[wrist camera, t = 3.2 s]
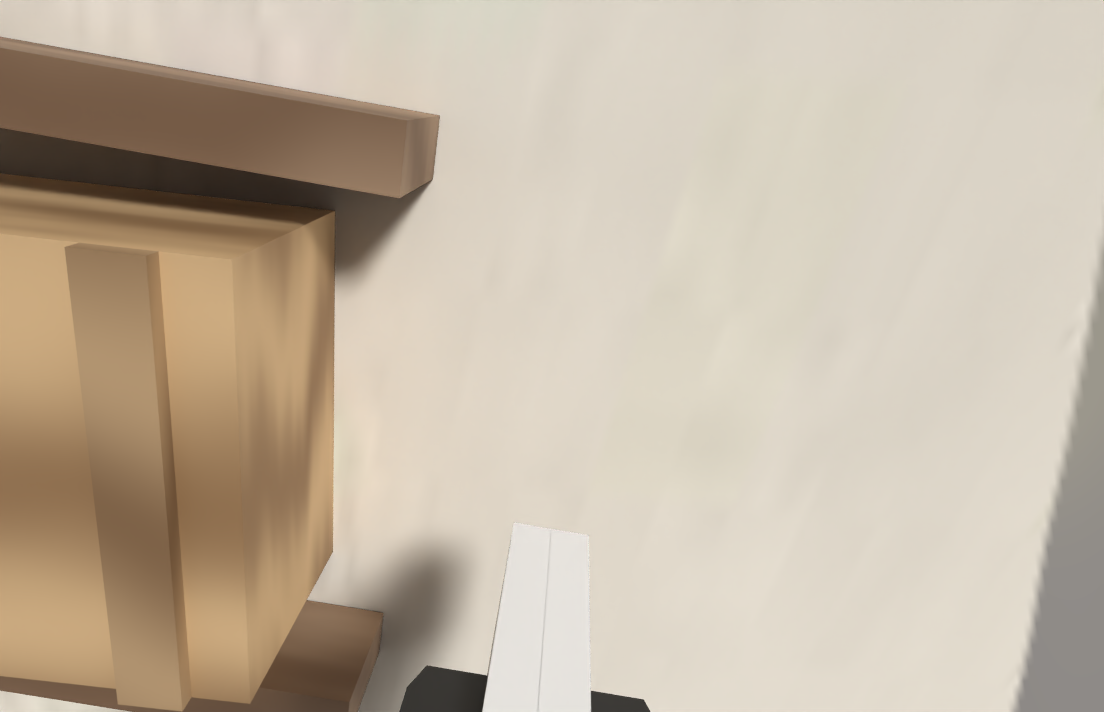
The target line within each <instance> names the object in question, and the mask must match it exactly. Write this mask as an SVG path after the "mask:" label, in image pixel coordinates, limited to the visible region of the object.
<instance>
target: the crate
mask: <svg viewBox="0 0 1104 712" xmlns="http://www.w3.org/2000/svg"><path fill="white" fill-rule="evenodd" d="M334 300H335V211H333V210H324V209H315V208H306V207H297V206H288V205H279V204H270V203H261V202H252V201H243V200H234V199H225V198H216V197H207V196H198V195H189V194H180V193H171V192H162V191H153V190H144V189H135V188H126V187H117V186H108V185H99V184H90V183H81V182H72V181H63V180H54V179H45V178H36V177H27V176H18V175H10V174H1V173H0V676H5V677H14V678H23V679H32V680H41V681H50V682H59V683H68V684H77V685H86V686H95V687H104V688H113V689H116V693H117V701H118V704H120V705H128V706H137V707H146V708H155V709H164V710H173V711H183V710H184V708H185V707H186V705H187V704H188V702H189V701H190V699H191V697H193V698H202V699H211V700H220V701H229V702H238V703H247V704H250V703H251V701H252V699H253V698H254V696H255V694H256V692H257V690H258V688H259V687H260V685H261V683H262V681H263V679H264V677H265V676H266V674H267V672H268V670H269V668H270V666H271V665H272V663H273V661H274V659H275V657H276V655H277V653H278V652H279V650H280V648H281V646H282V644H283V642H284V641H285V639H286V637H287V635H288V633H289V631H290V630H291V628H292V626H293V624H294V622H295V620H296V619H297V617H298V615H299V613H300V611H301V609H302V607H303V606H304V604H305V602H306V600H307V598H308V596H309V595H310V593H311V591H312V589H313V587H314V585H315V584H316V582H317V580H318V578H319V576H320V574H321V573H322V571H323V569H324V567H325V565H326V563H327V561H328V560H329V558H330V556H331V554H332V552H333V451H334Z"/></svg>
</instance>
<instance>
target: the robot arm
mask: <svg viewBox="0 0 1104 712" xmlns="http://www.w3.org/2000/svg"><path fill="white" fill-rule="evenodd" d="M400 712H650V710H649V708H648V707H647V705H646V703H645V701H644V700H643V699H637V698H631V697H625V696H619V695H613V694H607V693H601V692H595V691H591V673H590V595H589V535H585V534H579V533H573V532H567V531H561V530H556V529H550V528H544V527H538V526H532V525H526V524H520V523H514V524H513V530H512V536H511V541H510V547H509V553H508V558H507V564H506V570H505V575H504V581H503V587H502V592H501V598H500V604H499V609H498V615H497V621H496V626H495V632H494V638H493V644H492V650H491V656H490V662H489V668H488V674H487V676H486V675H480V674H474V673H468V672H462V671H456V670H450V669H444V668H438V667H432V666H426V667H425V668H424V669H423V670H422V671H421V673H420V674H419V675H418V676H417V677H416V678H415V679H414V680H413V681H412V682H411V683H410V685H409V686H408V687H407V689H406V692H405V695H404V699H403V702H402V705H401V708H400Z"/></svg>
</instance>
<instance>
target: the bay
mask: <svg viewBox="0 0 1104 712" xmlns="http://www.w3.org/2000/svg"><path fill="white" fill-rule="evenodd" d="M439 119H440V116H439V115H434V114H428V113H422V112H417V111H411V110H406V109H400V108H395V107H389V106H383V105H378V104H372V103H367V102H361V101H356V100H350V99H344V98H339V97H333V96H328V95H322V94H316V93H311V92H305V91H300V90H294V89H289V88H283V87H277V86H272V85H266V84H261V83H255V82H249V81H244V80H238V79H233V78H227V77H222V76H216V75H210V74H205V73H199V72H194V71H188V70H183V69H177V68H171V67H166V66H160V65H155V64H149V63H143V62H138V61H132V60H127V59H121V58H116V57H110V56H104V55H99V54H93V53H88V52H82V51H77V50H71V49H65V48H60V47H54V46H49V45H43V44H37V43H32V42H26V41H21V40H15V39H10V38H4V37H0V128H4V129H10V130H16V131H21V132H27V133H33V134H38V135H44V136H50V137H55V138H61V139H67V140H72V141H78V142H84V143H89V144H95V145H101V146H106V147H112V148H118V149H123V150H129V151H135V152H140V153H146V154H152V155H157V156H163V157H169V158H174V159H180V160H185V161H191V162H197V163H202V164H208V165H214V166H219V167H225V168H231V169H236V170H242V171H248V172H253V173H259V174H265V175H270V176H276V177H282V178H287V179H293V180H299V181H304V182H310V183H316V184H321V185H327V186H333V187H338V188H344V189H350V190H355V191H361V192H367V193H372V194H378V195H383V196H389V197H395V198H401V197H403V196H404V195H406V194H408V193H410V192H411V191H413V190H415V189H417V188H418V187H420V186H422V185H424V184H425V183H427V182H429V181H431V180H432V179H433V172H434V163H435V154H436V146H437V137H438V128H439ZM383 614H384V613H381V612H375V611H369V610H363V609H357V608H351V607H345V606H339V605H333V604H327V603H321V602H314V601H308V600H306V602H305V604H304V606H303V607H302V609H301V611H300V613H299V615H298V617H297V619H296V620H295V622H294V624H293V626H292V628H291V630H290V631H289V633H288V635H287V637H286V639H285V641H284V642H283V644H282V646H281V648H280V650H279V652H278V653H277V655H276V657H275V659H274V661H273V663H272V665H271V666H270V668H269V670H268V672H267V674H266V676H265V677H264V679H263V681H262V683H261V685H260V687H259V688H258V690H257V692H256V694H255V696H254V698H253V699H252V701H251V703H250V704H247V703H238V702H229V701H220V700H211V699H202V698H193V697H191V699H190V701H189V702H188V704H187V705H186V707H185V708H184V710H183V711H173V710H164V709H155V708H146V707H137V706H128V705H120V704H118V701H117V693H116V689H113V688H104V687H95V686H86V685H77V684H68V683H59V682H50V681H41V680H32V679H23V678H14V677H5V676H0V690H1V691H7V692H13V693H19V694H26V695H32V696H38V697H44V698H50V699H57V700H63V701H69V702H75V703H81V704H88V705H94V706H100V707H106V708H112V709H118V710H125V711H131V712H358V709H359V706H360V704H361V701H362V698H363V695H364V693H365V690H366V687H367V684H368V682H369V679H370V676H371V673H372V671H373V668H374V665H375V662H376V660H377V657H378V654H379V649H380V640H381V631H382V622H383Z"/></svg>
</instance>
